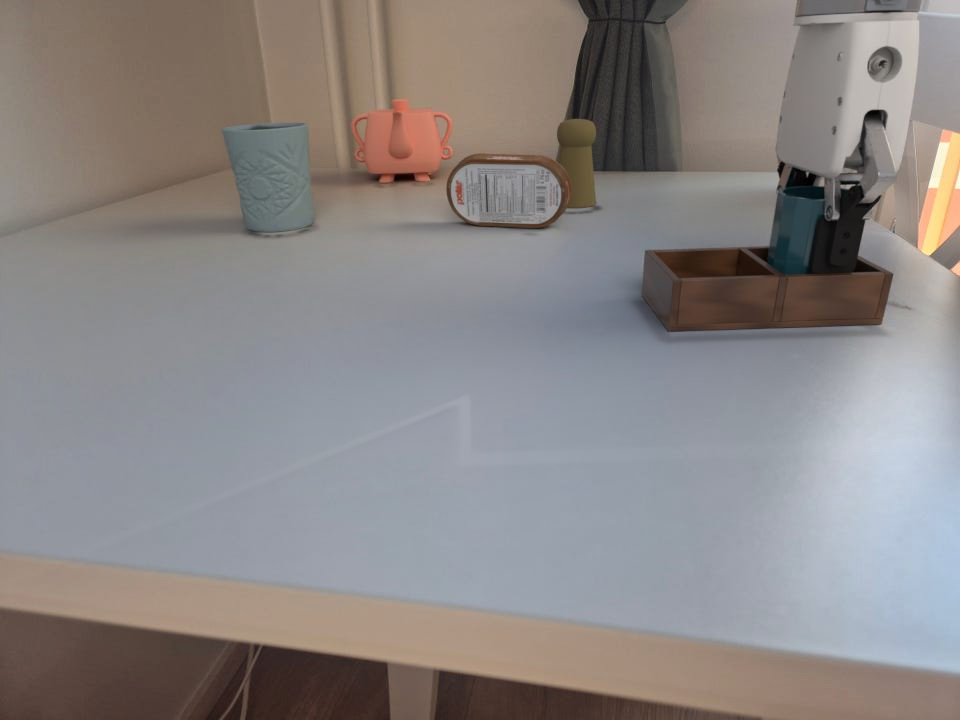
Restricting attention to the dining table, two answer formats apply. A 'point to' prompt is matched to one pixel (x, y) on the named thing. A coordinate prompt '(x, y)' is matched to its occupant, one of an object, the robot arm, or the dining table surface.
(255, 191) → the drinking glass
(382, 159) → the teapot
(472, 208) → the tin
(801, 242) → the cup
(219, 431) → the dining table surface
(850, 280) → the divided wooden box
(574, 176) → the pepper mill
